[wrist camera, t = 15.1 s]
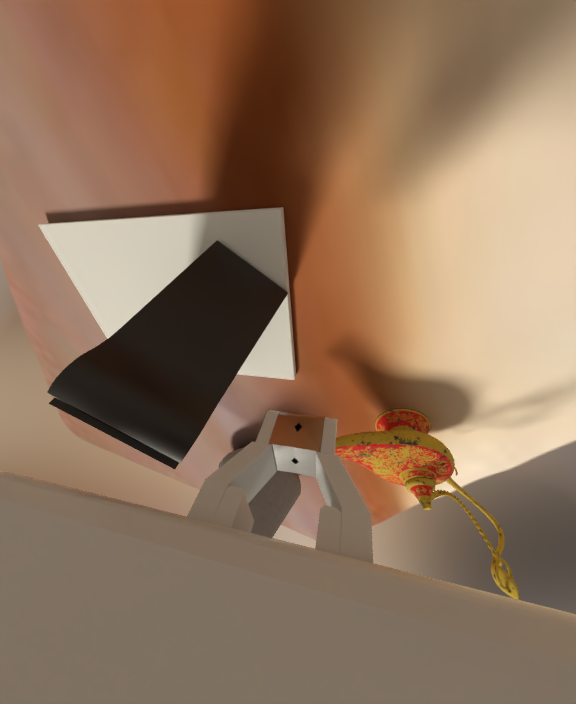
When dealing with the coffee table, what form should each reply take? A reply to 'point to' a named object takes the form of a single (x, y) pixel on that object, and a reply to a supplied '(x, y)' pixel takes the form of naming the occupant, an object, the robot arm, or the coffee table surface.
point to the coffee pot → (272, 500)
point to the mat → (175, 267)
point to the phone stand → (173, 357)
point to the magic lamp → (417, 469)
